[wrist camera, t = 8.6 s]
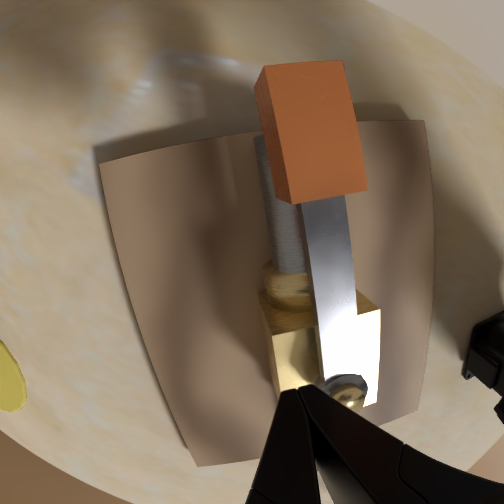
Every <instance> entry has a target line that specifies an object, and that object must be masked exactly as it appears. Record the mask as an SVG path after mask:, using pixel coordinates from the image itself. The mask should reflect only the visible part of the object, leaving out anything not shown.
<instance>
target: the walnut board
mask: <svg viewBox="0 0 504 504" xmlns="http://www.w3.org/2000/svg"><path fill="white" fill-rule="evenodd" d="M357 127H358V132H359V137H360V142H361V148H362V154H363V159H364V166H365V172H366V178H367V185H368V191H362V192H356V193H351V194H346V195H345V201H346V208H347V216H348V223H349V231H350V240H351V248H352V258H353V268H354V279H355V288H356V289H357V290H358V291H360V292H361V293H362V294H363V295H364V296H365V297H367V298H368V299H369V300H370V301H371V302H372V303H373V304H375V305H376V306H377V307H378V308H379V309H380V344H379V365H378V381H377V394H376V402H374V403H371V404H368V405H365V406H363V407H362V409H361V410H360V411H359V412H357V414H359V415H360V416H362V417H363V418H365V419H366V420H368V421H370V422H371V423H373V424H374V425H376V426H379V425H382V424H384V423H387V422H390V421H392V420H395V419H397V418H400V417H402V416H405V415H407V414H409V413H412V412H414V411H416V410H418V405H419V400H420V395H421V390H422V384H423V379H424V373H425V366H426V360H427V353H428V345H429V337H430V328H431V317H432V305H433V289H434V261H435V234H434V205H433V190H432V177H431V167H430V158H429V150H428V142H427V135H426V128H425V122H424V120H390V121H359V122H357ZM259 135H263V130H261V131H253V132H247V133H240V134H233V135H227V136H221V137H216V138H210V139H204V140H199V141H194V142H189V143H184V144H179V145H174V146H170V147H165V148H160V149H156V150H152V151H148V152H143V153H139V154H135V155H131V156H127V157H123V158H120V159H116V160H112V161H109V162H105V163H101V164H99V167H100V173H101V179H102V184H103V190H104V195H105V200H106V205H107V210H108V214H109V219H110V224H111V228H112V232H113V237H114V241H115V245H116V249H117V253H118V257H119V261H120V264H121V268H122V272H123V276H124V279H125V283H126V286H127V290H128V293H129V296H130V300H131V303H132V306H133V309H134V313H135V316H136V319H137V322H138V325H139V328H140V331H141V334H142V337H143V340H144V343H145V346H146V348H147V351H148V354H149V357H150V359H151V362H152V365H153V368H154V370H155V373H156V375H157V378H158V380H159V383H160V386H161V388H162V391H163V393H164V395H165V398H166V400H167V403H168V405H169V407H170V410H171V412H172V414H173V417H174V419H175V421H176V423H177V426H178V428H179V430H180V432H181V434H182V437H183V439H184V441H185V443H186V445H187V447H188V449H189V451H190V453H191V455H192V457H193V459H194V461H195V463H196V465H197V467H201V466H211V465H219V464H227V463H234V462H241V461H247V460H253V459H259V458H261V456H262V452H263V449H264V446H265V443H266V440H267V436H268V433H269V430H270V427H271V423H272V420H273V416H274V413H275V410H276V406H277V403H278V398H277V395H276V392H275V388H274V385H273V381H272V378H271V374H270V369H269V363H268V357H267V351H266V345H265V340H264V334H263V328H262V322H261V316H260V311H259V305H258V299H257V293H259V292H264V291H266V290H265V284H264V277H263V271H262V267H263V265H264V264H265V263H267V262H268V261H270V260H272V254H271V247H270V241H269V234H268V228H267V222H266V215H265V209H264V203H263V196H262V190H261V184H260V178H259V172H258V165H257V159H256V153H255V147H254V141H253V138H254V137H256V136H259Z"/></svg>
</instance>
